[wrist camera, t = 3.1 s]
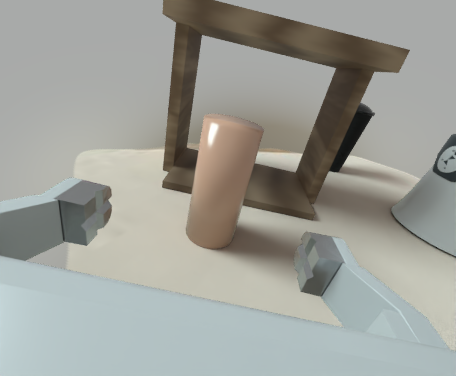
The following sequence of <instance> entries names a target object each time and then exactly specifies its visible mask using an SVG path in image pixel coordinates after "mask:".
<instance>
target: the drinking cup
mask: <svg viewBox="0 0 456 376" xmlns="http://www.w3.org/2000/svg"><path fill="white" fill-rule="evenodd" d="M374 115H375V113H374V112H372V110H371V109H370V108H369V107H368V106H366V105H364V104H362V103H360V104H359V106H358V108H357V110H356V113H355V115H354V117H353V119H352V121H351V123H350V126H349V128H348V130H347V132H346V134H345V137H344V139H343V141H342V143H341V145H340V147H339V150H338V152H337V154H336V156H335V158H334V161H333V163H332V165H331V167H330V169H329V171H332V172H339V170H340V169H341V167H342V165H343V164H344V162H345V161H346V159H347V157H348V156H349V154H350V152H351V151H352V149H353V147H354V146H355V144H356V142H357V140H358V139H359V137H360V136H361V134H362V132H363V131H364V129H365V127H366V126H367V124H368V122H369V121H370V119H371V117H372V116H374Z"/></svg>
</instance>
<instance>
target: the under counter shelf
mask: <svg viewBox="0 0 456 376" xmlns="http://www.w3.org/2000/svg"><path fill="white" fill-rule="evenodd" d="M163 14H164V15H165V16H167V17H168V18H170V19H172V20H173V21H175V22H176V32H175V42H174V53H173V64H172V75H171V86H170V97H169V108H168V119H167V131H166V142H165V153H164V164H163V170H165V171H169V173H168V174H167V176H166V177H165V179H164V180H163V185H162V187H163V188H168V189H172V190H177V191H182V192H186V193H191V194H192V188H193V182H194V176H195V170H196V164H197V158H198V150H193V149H189V148H187V141H188V134H189V126H190V118H191V111H192V104H193V97H194V89H195V82H196V75H197V67H198V59H199V52H200V45H201V38H202V35H205V36H209V37H213V38H217V39H221V40H225V41H229V42H233V43H237V44H241V45H245V46H249V47H253V48H257V49H261V50H265V51H269V52H273V53H277V54H281V55H286V56H290V57H294V58H298V59H302V60H306V61H310V62H314V63H318V64H322V65H326V66H330V67H334V68H336V70H335V73H334V76H333V78H332V81H331V83H330V86H329V88H328V91H327V93H326V96H325V99H324V101H323V104H322V106H321V109H320V112H319V114H318V117H317V119H316V122H315V124H314V127H313V130H312V132H311V135H310V138H309V140H308V143H307V145H306V148H305V151H304V153H303V155H302V158H301V161H300V163H299V166H298V168H297V171H296V173H295V172H290V171H286V170H281V169H277V168H273V167H268V166H264V165H259V164H255V163H254V166H253V170H252V173H251V177H250V180H249V184H248V187H247V191H246V194H245V198H244V201H243V205H245V206H250V207H254V208H259V209H264V210H268V211H273V212H277V213H282V214H286V215H291V216H295V217H300V218H305V219H309V220H313V218H314V216H315V213H314V210H313V208H312V206H311V204H310V203H313V204H314V202H315V200H316V198H317V195H318V193H319V191H320V189H321V187H322V184H323V182H324V180H325V178H326V176H327V174H328V171H329V169H330V167H331V165H332V163H333V161H334V158H335V156H336V154H337V152H338V150H339V147H340V145H341V143H342V141H343V139H344V137H345V134H346V132H347V130H348V128H349V126H350V123H351V121H352V119H353V117H354V115H355V113H356V110H357V108H358V106H359V104H360V102H361V99H362V97H363V95H364V93H365V91H366V88H367V86H368V84H369V82H370V80H371V78H372V75H373V73H374V72H394V73H398V72H399V70H400V69H401V66H402V65H403V63H404V61H405V59H406V57H407V55H408V53H409V51H410V50H407V49H404V48H400V47H396V46H392V45H388V44H384V43H379V42H376V41H372V40H368V39H364V38H360V37H356V36H353V35H348V34H344V33H340V32H337V31H333V30H329V29H325V28H321V27H317V26H313V25H309V24H305V23H301V22H297V21H294V20H290V19H286V18H282V17H278V16H274V15H269V14H266V13H262V12H258V11H254V10H250V9H246V8H242V7H238V6H234V5H230V4H227V3H222V2H219V1H215V0H163Z"/></svg>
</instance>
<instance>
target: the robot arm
mask: <svg viewBox="0 0 456 376" xmlns="http://www.w3.org/2000/svg"><path fill="white" fill-rule="evenodd" d="M111 196H112V194H111V188H110V187H109V186H105V185H101V184H97V183H93V182H89V181H84V180H81V179H77V178H67V179H66V180H64V181H63V182H61V183H59V184H57V185H56V186H54V187H52V188H51V189H49V190H48V191H46V192H44V193H43V194H41V195H39V196H38V195H31V196H26V197H21V198H16V199H11V200H6V201H1V202H0V376H456V351H454V350H450V349H449V348H448V346H447V345H446V343H445V342H444V341H443V339H442V338H441V337H440V335H439V334H438V333H437V331H436V330H435V328H434V327H433V326H432V324H431V323H430V322H429V320H428V319H427V317H425V316H424V315H423V314H421V313H420V312H419V311H418V310H416V309H415V308H414V307H413V306H411V305H410V304H409V303H408V302H406V301H405V300H404V299H402V298H401V297H400V296H399V295H397V294H396V293H395V292H394V291H392V290H391V289H390V288H388V287H387V286H386V285H385V284H383V283H382V282H381V281H380V280H378V279H377V278H376V277H374V276H373V275H372V274H371V273H369V272H368V271H367V270H366V269H364V268H362V267H359V265H358V263H357V262H356V260H355V258H354V256H353V255H352V253H351V251H350V250H349V248H348V246H347V244H346V243H345V241H344V240H343V239H341V238H337V237H332V236H326V235H321V234H316V233H311V232H305V233H304V234H303V236H302V238H301V240H302V243H303V244H302V245H300V246H298V247H297V249H296V251H295V255H294V267H295V270H296V271H297V272H298V273H299V275H298V277H297V279H298V283H299V287H300V291H301V292H304V293H308V294H312V295H316V296H321V298H322V299H323V301H324V302H325V303H326V304H327V306H328V307H329V308H330V310H331V311H332V312H333V313H334V315H335V316H336V317H337V319H338V320H339V321H340V322H341V324H342V325H343V326H344V327H339V326H334V325H329V324H324V323H319V322H315V321H310V320H305V319H300V318H296V317H291V316H286V315H281V314H277V313H272V312H267V311H263V310H258V309H253V308H248V307H244V306H239V305H234V304H229V303H225V302H220V301H215V300H210V299H205V298H201V297H196V296H191V295H186V294H181V293H177V292H172V291H167V290H162V289H157V288H152V287H148V286H143V285H138V284H133V283H128V282H124V281H119V280H114V279H109V278H105V277H100V276H95V275H90V274H85V273H81V272H76V271H71V270H66V269H62V268H56V267H52V266H47V265H42V264H37V263H33V262H28V261H26V260H27V259H29V258H32V257H34V256H36V255H38V254H40V253H42V252H45V251H47V250H49V249H51V248H53V247H55V246H57V245H59V244H62V243H63V241H64V242H69V243H75V244H80V245H85V246H87V245H88V244H89V243H90V242H91V241H92V240H93V239H94V237H95V236H96V235H97V230H98V229H101V228H103V227H104V226H105V225H106V224H107V223H108V221H109V218H110V216H111V211H112V205H111V204H110V202H109V201H108V199H109V198H110V197H111ZM391 210H392V213H393V215H394V216H395V218H396V219H397V220H398V221H399V222H400V223H401V224H402V225H404V226H405V227H406V228H407V229H409V230H410V231H411V232H413V233H414V234H416V235H417V236H419V237H420V238H422V239H423V240H425V241H427V242H428V243H430V244H432V245H434V246H436V247H437V248H439V249H441V250H443V251H445V252H447V253H450V254H452V255H454V256H456V134H453V135H451V137H450V138H449V139H448V141H447V142H446V143H445V145H444V146H443V148H442V149H441V151H440V152H439V153H438V156H437V159H436V161H435V164H434V165H433V167H432V168H431V169H430V170H429V171H428V172H427V173H426V174H425V175H424V176H423V177H422V179H421V180H420V181H419V182H418V183H417V184H416V185H415V186H414V187H413V189H412V190H411V191H410V192H409V193H408V194H407V195H406V196H405V197H404V198H403V199H402V200H400V201H399V202H398V203H397V204H396V205H394V206H393V207H392V209H391Z"/></svg>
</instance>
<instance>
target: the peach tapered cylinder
mask: <svg viewBox="0 0 456 376" xmlns="http://www.w3.org/2000/svg"><path fill="white" fill-rule="evenodd" d="M263 132H264V129H263V128H262V127H261V126H259V125H258V124H256V123H253V122H251V121H248V120H244V119H241V118H237V117H233V116H228V115H221V114H207V115H205V116H204V121H203V127H202V133H201V140H200V145H199V151H198V158H197V164H196V170H195V176H194V182H193V188H192V195H191V201H190V207H189V213H188V219H187V225H186V234H187V236H188V238H189V239H190V240H191V241H192V242H194V243H195V244H197V245H199V246H201V247H204V248H209V249H218V248H223V247H225V246H227V245H229V244H230V243H231V241H232V239H233V236H234V233H235V229H236V226H237V222H238V219H239V215H240V212H241V208H242V205H243V201H244V198H245V194H246V191H247V187H248V184H249V180H250V177H251V173H252V170H253V166H254V163H255V159H256V156H257V153H258V149H259V146H260V142H261V138H262V135H263Z"/></svg>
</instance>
